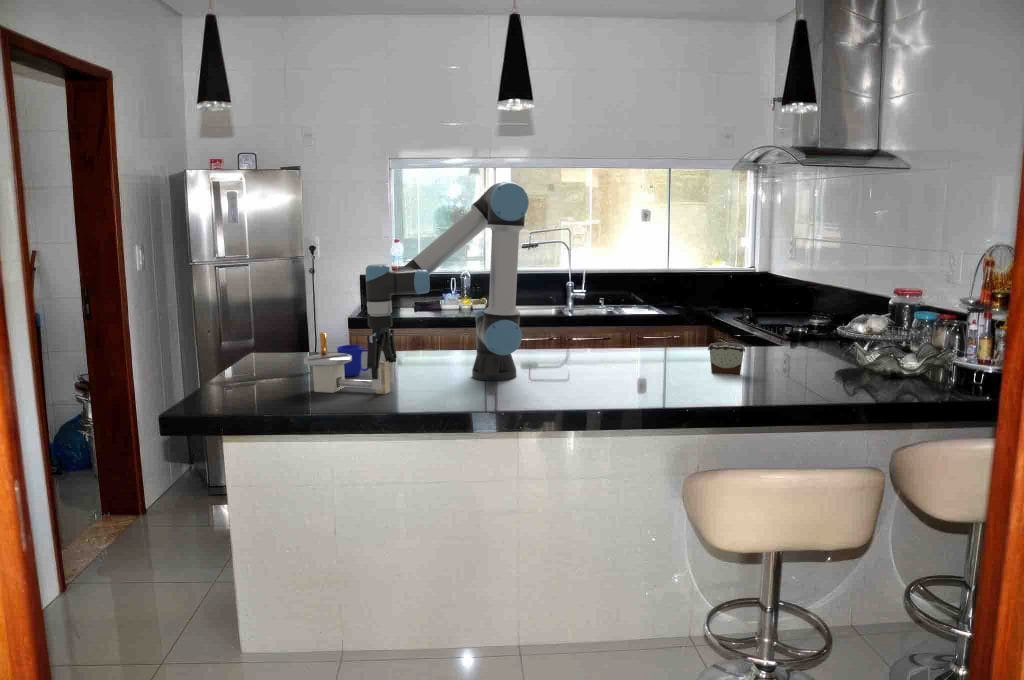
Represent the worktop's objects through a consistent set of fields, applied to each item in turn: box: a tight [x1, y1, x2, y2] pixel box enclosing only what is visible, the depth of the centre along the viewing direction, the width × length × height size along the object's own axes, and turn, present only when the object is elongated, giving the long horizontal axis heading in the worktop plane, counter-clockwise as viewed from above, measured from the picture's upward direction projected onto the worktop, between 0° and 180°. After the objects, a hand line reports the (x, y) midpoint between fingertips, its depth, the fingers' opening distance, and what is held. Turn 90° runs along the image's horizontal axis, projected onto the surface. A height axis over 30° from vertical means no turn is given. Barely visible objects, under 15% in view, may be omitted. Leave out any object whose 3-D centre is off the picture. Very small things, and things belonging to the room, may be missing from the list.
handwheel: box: [303, 332, 352, 367], centre depth 250 cm, size 15×15×8 cm
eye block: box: [312, 364, 346, 394], centre depth 252 cm, size 7×7×9 cm
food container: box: [707, 342, 746, 377], centre depth 264 cm, size 12×6×10 cm, turn 65°
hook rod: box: [336, 360, 391, 395], centre depth 250 cm, size 25×3×10 cm, turn 73°
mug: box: [336, 344, 369, 377], centre depth 272 cm, size 8×12×10 cm
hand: (383, 385), depth 247 cm, fingers open, 8 cm apart
